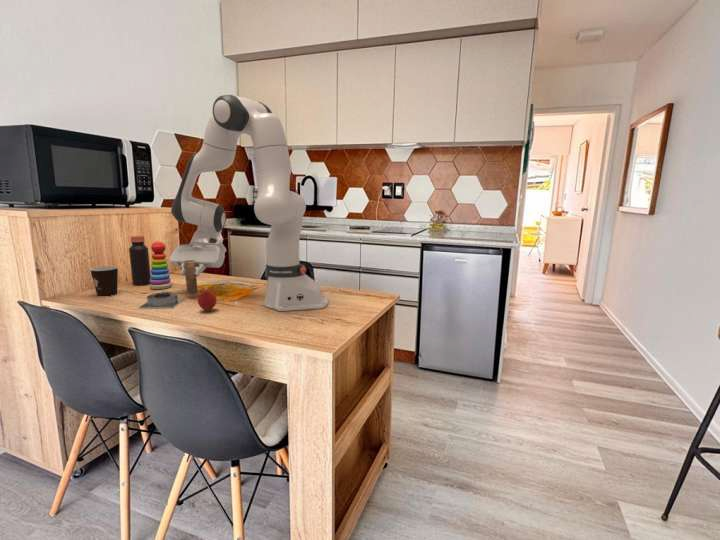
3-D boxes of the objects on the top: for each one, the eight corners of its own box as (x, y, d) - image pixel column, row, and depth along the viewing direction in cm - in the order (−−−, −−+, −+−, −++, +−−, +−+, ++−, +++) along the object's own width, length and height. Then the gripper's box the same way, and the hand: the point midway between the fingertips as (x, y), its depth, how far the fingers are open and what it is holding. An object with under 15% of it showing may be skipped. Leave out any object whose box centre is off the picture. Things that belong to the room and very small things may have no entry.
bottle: (153, 282, 168) (149, 235, 164) (147, 285, 162) (142, 237, 157) (136, 282, 167) (131, 235, 163) (129, 286, 161) (124, 237, 157)
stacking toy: (163, 290, 155) (158, 243, 151) (145, 289, 156) (140, 242, 152) (176, 285, 162) (172, 240, 158) (159, 284, 164) (154, 239, 160)
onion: (215, 313, 128) (213, 289, 126) (196, 314, 127) (194, 290, 125) (218, 308, 133) (217, 285, 132) (200, 308, 132) (199, 285, 131)
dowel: (199, 291, 147) (196, 260, 145) (195, 294, 144) (192, 262, 141) (189, 292, 147) (186, 260, 145) (185, 294, 144) (182, 262, 141)
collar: (184, 299, 143) (184, 291, 143) (173, 308, 133) (172, 299, 132) (153, 299, 143) (152, 291, 142) (139, 308, 132) (138, 300, 131)
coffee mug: (121, 295, 147) (118, 269, 145) (93, 298, 142) (90, 271, 140) (119, 288, 156) (116, 264, 154) (93, 291, 152) (89, 266, 150)
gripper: (174, 239, 150) (159, 269, 143) (223, 240, 146) (210, 271, 139) (182, 249, 155) (168, 278, 148) (230, 250, 152) (218, 280, 144)
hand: (189, 275), depth 143 cm, fingers closed on dowel, 4 cm apart
